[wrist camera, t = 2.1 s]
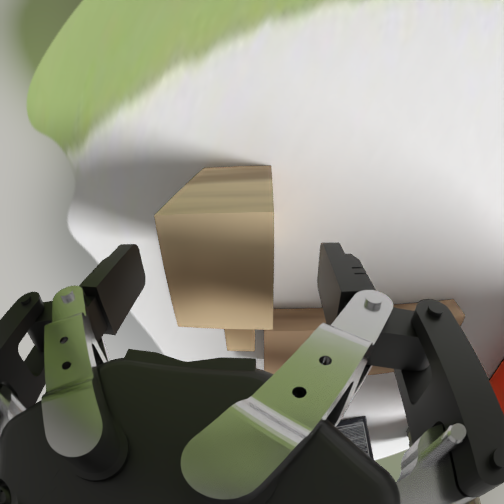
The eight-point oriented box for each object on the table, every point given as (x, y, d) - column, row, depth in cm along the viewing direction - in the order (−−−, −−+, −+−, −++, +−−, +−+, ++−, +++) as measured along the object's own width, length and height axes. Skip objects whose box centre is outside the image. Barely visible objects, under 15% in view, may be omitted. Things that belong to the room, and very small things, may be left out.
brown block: (264, 308, 21) (264, 330, 19) (453, 299, 20) (465, 315, 18) (264, 359, 24) (264, 380, 21) (431, 346, 23) (440, 363, 20)
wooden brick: (203, 167, 16) (154, 215, 9) (271, 165, 16) (273, 212, 9) (219, 312, 21) (200, 399, 14) (271, 313, 21) (270, 403, 14)
